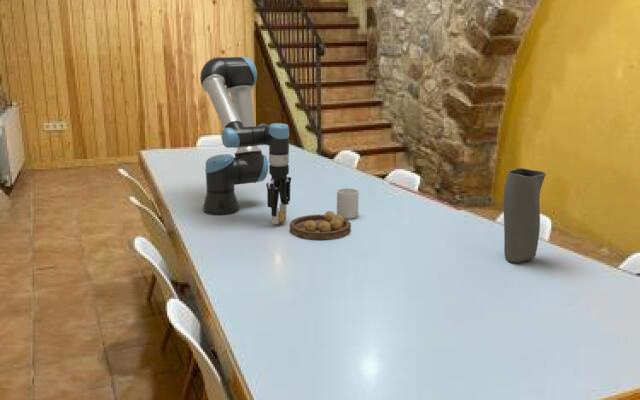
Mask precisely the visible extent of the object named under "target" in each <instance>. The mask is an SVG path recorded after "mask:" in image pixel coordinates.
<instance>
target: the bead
mask: <svg viewBox="0 0 640 400" xmlns="http://www.w3.org/2000/svg"><path fill="white" fill-rule="evenodd" d="M284 220H285V214H284V213H283V212H281V211H279V224H282V223H284V222H285V221H284Z"/></svg>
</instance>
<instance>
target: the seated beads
mask: <svg viewBox="0 0 640 400" xmlns="http://www.w3.org/2000/svg"><path fill="white" fill-rule="evenodd" d="M323 215H324V220H325V221H322V222H321V223H320V224H319V226H318V228H319V231H320V232H329V231H330V229H332V230H334V231H336V230H340V229H341V227H342V224H343V223H344V218H343V217H342V216H341V215H337V214H335V212H333V211H330V210H329V211H326V212H325V213H324V214H323ZM327 221H328V222H327ZM329 222H330V223H329ZM304 228H305V230H306V231H311V232H314V231H315V230H316V228H317V225H316V223H315V222H314V221H312V220H309V221H307V222H306V223H305V225H304Z"/></svg>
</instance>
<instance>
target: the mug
mask: <svg viewBox="0 0 640 400" xmlns="http://www.w3.org/2000/svg"><path fill="white" fill-rule="evenodd" d="M359 195H360V194H359V190H358V189H356V188H351V187H350V188H348V187H347V188H339V189H337V190H336V215H341V216H342V217H343V218H344V219H346V220H348V221H349V220H355V219H356V218H357V217H358V216H359V200H360V199H359Z"/></svg>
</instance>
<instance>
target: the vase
mask: <svg viewBox="0 0 640 400" xmlns="http://www.w3.org/2000/svg"><path fill="white" fill-rule="evenodd" d="M546 175H547V174H546V172H545V171H540V170H536V169H535V170H533V169H528V168H523V167H521V168H520V167H519V168H518V167H517V168H515V169H512V170H509V171H508V172H507V176H506V179H505V183H504V189H503V198H502V199H503V201H502V203H503V205H502V206H503V229H504V230H503V233H504V238H503V240H504V243H503V244H504V248H503V249H504V258H505V259H506V261H508V262H511V263H512V264H513V263H514V264H515V263H516V264H517V263H518V264H519V263H522V262H528V261H531V260H533V259H534V258H536V255H537V250H538V245H539V239H540V238H539V237H540V228H541V227H540V226H541V212H540V211H541V210H540V209H541V207H540V196H541V195H540V194H541V190H542V187H543V183H544V180H545V177H546Z"/></svg>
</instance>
